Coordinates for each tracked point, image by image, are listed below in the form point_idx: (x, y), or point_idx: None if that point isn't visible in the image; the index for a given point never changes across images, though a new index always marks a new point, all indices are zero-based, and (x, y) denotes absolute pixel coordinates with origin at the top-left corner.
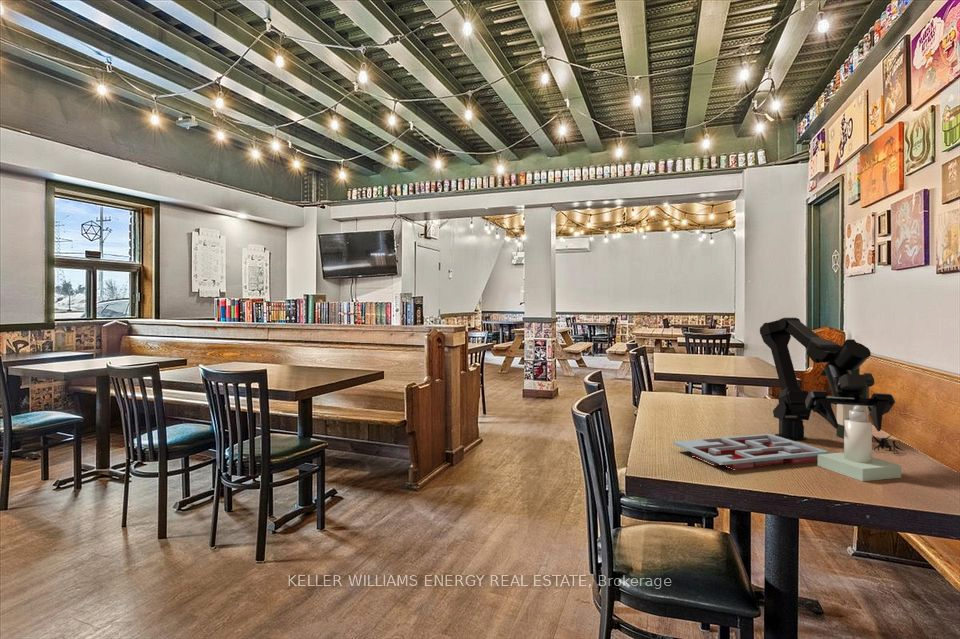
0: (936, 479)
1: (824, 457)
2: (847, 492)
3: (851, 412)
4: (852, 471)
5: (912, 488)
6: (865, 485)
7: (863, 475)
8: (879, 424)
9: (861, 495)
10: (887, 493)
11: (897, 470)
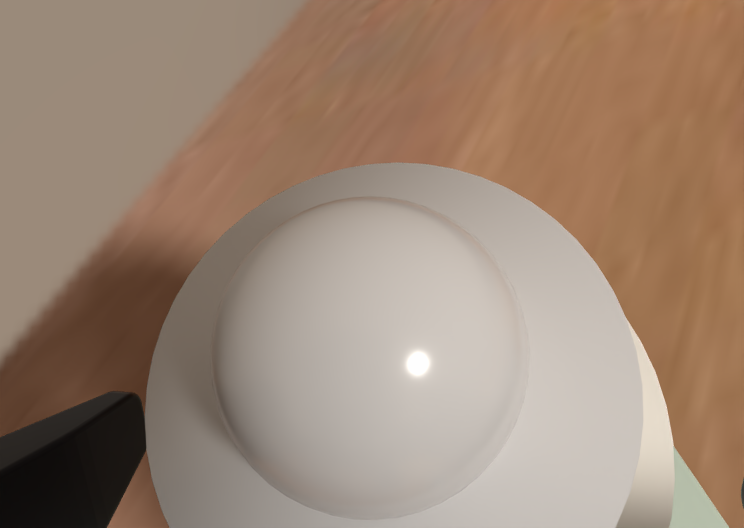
0: (25, 409)
1: (721, 519)
2: (665, 60)
3: (599, 301)
4: None
5: None
6: (522, 188)
7: None
8: (60, 427)
9: (607, 41)
10: (464, 101)
11: None
